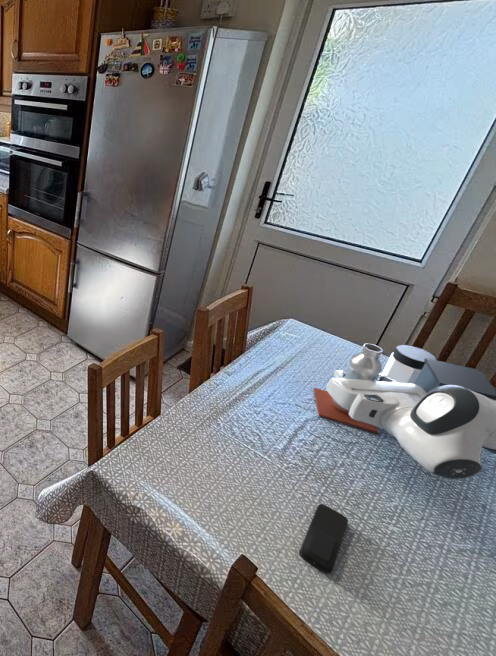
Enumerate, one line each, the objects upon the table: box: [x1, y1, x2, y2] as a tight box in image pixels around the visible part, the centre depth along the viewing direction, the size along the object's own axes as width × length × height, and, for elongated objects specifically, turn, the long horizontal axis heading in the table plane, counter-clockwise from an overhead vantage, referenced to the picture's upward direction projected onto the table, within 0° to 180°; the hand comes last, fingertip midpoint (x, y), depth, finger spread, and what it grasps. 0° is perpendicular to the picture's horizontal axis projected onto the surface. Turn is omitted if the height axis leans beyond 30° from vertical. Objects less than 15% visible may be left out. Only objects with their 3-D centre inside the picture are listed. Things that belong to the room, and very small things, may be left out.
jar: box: [381, 344, 437, 384], centre depth 116 cm, size 9×8×12 cm
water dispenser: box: [414, 358, 496, 401], centre depth 99 cm, size 10×11×19 cm
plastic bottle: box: [332, 343, 383, 414], centre depth 107 cm, size 6×7×20 cm
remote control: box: [298, 503, 349, 575], centre depth 80 cm, size 5×2×15 cm
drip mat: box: [313, 387, 379, 434], centre depth 111 cm, size 12×12×1 cm
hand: (357, 373), depth 107 cm, fingers open, 8 cm apart
